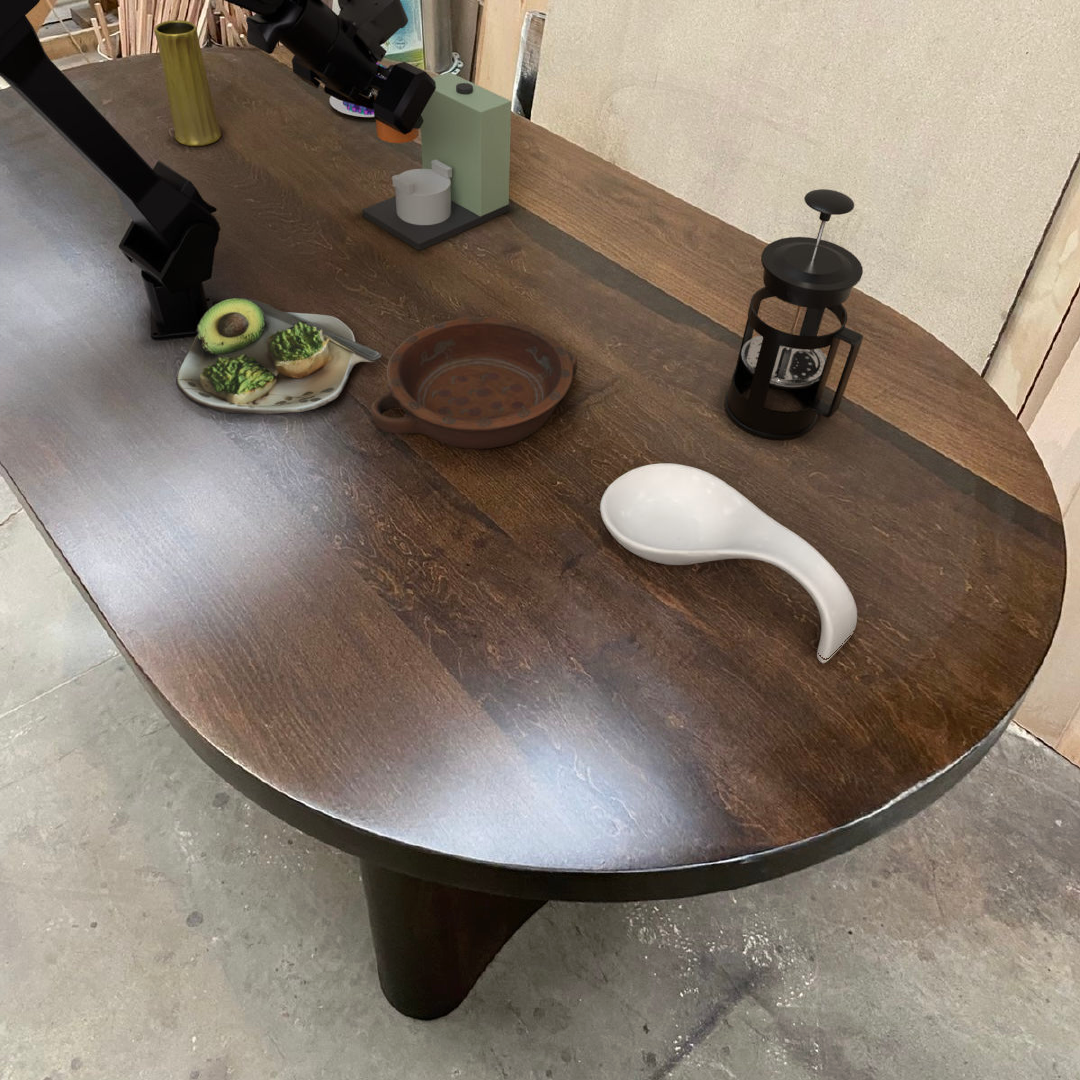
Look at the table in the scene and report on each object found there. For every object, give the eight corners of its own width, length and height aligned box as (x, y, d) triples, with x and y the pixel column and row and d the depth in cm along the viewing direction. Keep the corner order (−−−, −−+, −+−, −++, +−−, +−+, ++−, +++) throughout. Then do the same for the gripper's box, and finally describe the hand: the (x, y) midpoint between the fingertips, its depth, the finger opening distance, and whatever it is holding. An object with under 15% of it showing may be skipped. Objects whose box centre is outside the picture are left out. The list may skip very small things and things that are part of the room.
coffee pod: (424, 142, 110) (422, 97, 106) (378, 145, 109) (375, 100, 105) (416, 123, 113) (414, 79, 110) (371, 126, 112) (368, 81, 108)
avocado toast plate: (395, 325, 105) (392, 288, 102) (363, 431, 93) (359, 393, 89) (218, 310, 105) (210, 272, 102) (164, 414, 93) (152, 375, 89)
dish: (620, 425, 95) (626, 385, 92) (417, 497, 87) (415, 455, 83) (532, 333, 105) (534, 293, 102) (342, 390, 97) (337, 348, 93)
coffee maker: (419, 251, 116) (413, 130, 105) (362, 216, 121) (351, 98, 110) (508, 211, 123) (511, 95, 113) (451, 180, 129) (449, 66, 118)
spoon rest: (570, 537, 84) (577, 477, 79) (652, 472, 91) (663, 413, 85) (802, 694, 74) (827, 637, 69) (876, 609, 80) (904, 551, 75)
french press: (700, 408, 98) (747, 194, 81) (748, 368, 103) (802, 158, 86) (802, 461, 93) (874, 245, 76) (847, 416, 98) (924, 204, 81)
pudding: (425, 99, 146) (424, 63, 142) (385, 128, 138) (382, 91, 134) (357, 82, 149) (354, 46, 145) (314, 110, 141) (309, 73, 137)
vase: (201, 123, 137) (178, 15, 126) (230, 136, 134) (210, 27, 124) (166, 137, 133) (140, 27, 123) (196, 151, 131) (172, 39, 120)
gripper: (418, -13, 91) (499, 79, 105) (301, -62, 100) (390, 30, 114) (358, 92, 93) (446, 170, 107) (248, 36, 101) (342, 114, 115)
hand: (406, 117), depth 110 cm, fingers closed on coffee pod, 5 cm apart
